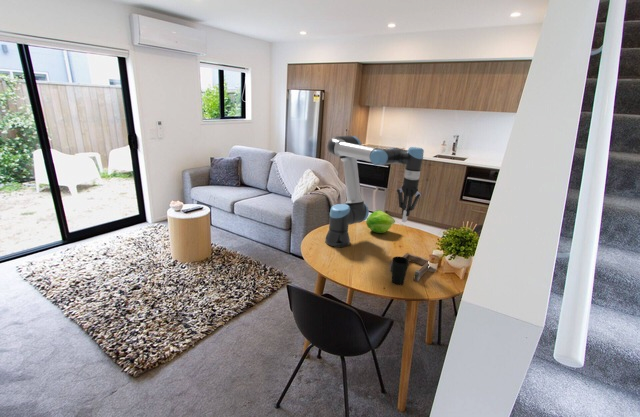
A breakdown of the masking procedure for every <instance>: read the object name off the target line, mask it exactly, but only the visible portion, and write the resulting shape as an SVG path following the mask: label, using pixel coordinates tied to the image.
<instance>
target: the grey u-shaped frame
mask: <svg viewBox="0 0 640 417" xmlns="http://www.w3.org/2000/svg"><path fill="white" fill-rule="evenodd" d="M402 257H404V258H406V259H408V260H409V262H412V263H415V264H418V265H421V266H422V267H421V268H419V270H418V269H416V270H415V272H414V277H413V281H414V282H417V283H418V282H420V279H421V278H422V277H423V276H424V275H425V273H427V271H428V270H429V269H428V266H429V264H428V261H429V260H430V259H427V258H424V257H421V256H417V255H415V254H411V253H409V252H407V253H405V254H404V255H403V256H402ZM389 272H391V273H392V261H391V262H390V267H389Z"/></svg>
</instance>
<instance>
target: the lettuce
mask: <svg viewBox="0 0 640 417" xmlns="http://www.w3.org/2000/svg"><path fill="white" fill-rule="evenodd" d="M365 221H366V223H365V224H366V226H367V227H368V229H370V230H371V231H372V232H374V233H376V234H382V233H383V234H384V233H386V232H388V231H389V230H390V228H392V226H393V225H394V224H395V223H396V219H395V218H394V217H392V216H391V215H389V213H386V212H384V211H382V210H376V211H373V212H371V213H370V214H368V217H367V218H366V220H365Z"/></svg>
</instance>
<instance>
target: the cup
mask: <svg viewBox="0 0 640 417" xmlns="http://www.w3.org/2000/svg"><path fill="white" fill-rule="evenodd" d="M391 262H392V272H391V283H392V284H393V285H395V286H403V285H404V282H405V278H406V275H407V273H408V272H407V271H408V267H409V264H410V261H409V260H408V259H406V258H404V257H403V256H394V257H392V261H391Z"/></svg>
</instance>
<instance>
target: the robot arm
mask: <svg viewBox="0 0 640 417" xmlns="http://www.w3.org/2000/svg"><path fill="white" fill-rule="evenodd" d="M327 151H328V153H330V155H332V156H335V157H339V159H340V160H341V162H342V164H343V173H344V174H343V175H344V181H345V182H344V184H345V191H346V199H347V200H346V201H345V203H338V204H334V205H332V206H331V207H330V212H329V224H328V225H329V226H328V231H327V234H326V236H325V238H324V239H325V241H324V242H325V244H326V243H327V245H328V246H330V247H333V246H334V248H344V247H348V246H349V245H350V241H351V240H350V239H351V238H350V235H349V226H350V225H354V224H358V223H359V224H360V223H362V222H364V221H367V218H368V217H369V215H370V211H369V207H368V206H367V203H365V202H364V199H362V195H361V187H360V177H359V168H358V167H359V166H358V161H357V160H361V161H365V162H368V163H372V165H374V166H383V165H384V166H385V165H394V164H395V165H396V164H399V165H404V166H405V169H404V175H403V176H404V178H403V182H402V186H401V188H398V189H397V190H396V192H397V194H398V207H399V208H401V216H402V220H401V222H403V223H406V222H407V221H408V217H409V216H410V214H411V212H412V211H414V210H415V208H416V206H417V204H418V201H419V199H420V197H422V196H423V194H422V192H421V193H420V192H419V182H420V180H419V179H420V175H421V171H422V170H421V169H422V164H423V160H424V153H425V150H424V149H423V148H422V147H416V146H409V147H408V150H407V149H402V148H398V147H390V148H389V149H387V148H386V149H383V148H377V147H372V146H369V145H363V144H362V142H361V140H360V139H359V138H358V137H357V136H354V135H353V136H352V135H341V136H340V135H338V136H337V135H336V136H333V137H332V138H330V139H329V140H328V142H327ZM414 196H415V197H414ZM413 198H414V199H413Z"/></svg>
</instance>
